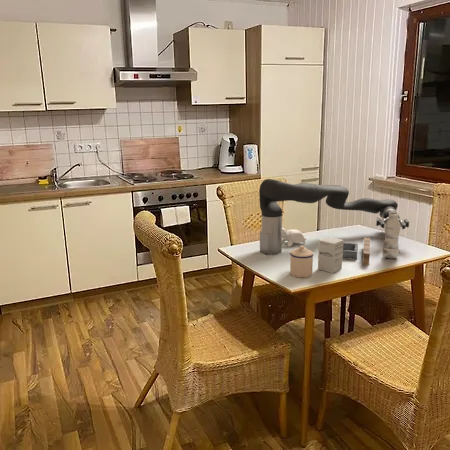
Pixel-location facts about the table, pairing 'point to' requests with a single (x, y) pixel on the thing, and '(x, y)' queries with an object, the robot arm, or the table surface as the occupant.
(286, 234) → the white piece
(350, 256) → the keeper
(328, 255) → the supplement box
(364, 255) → the wooden plank
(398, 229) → the silver bottle
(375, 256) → the table surface
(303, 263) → the teacup with lid
